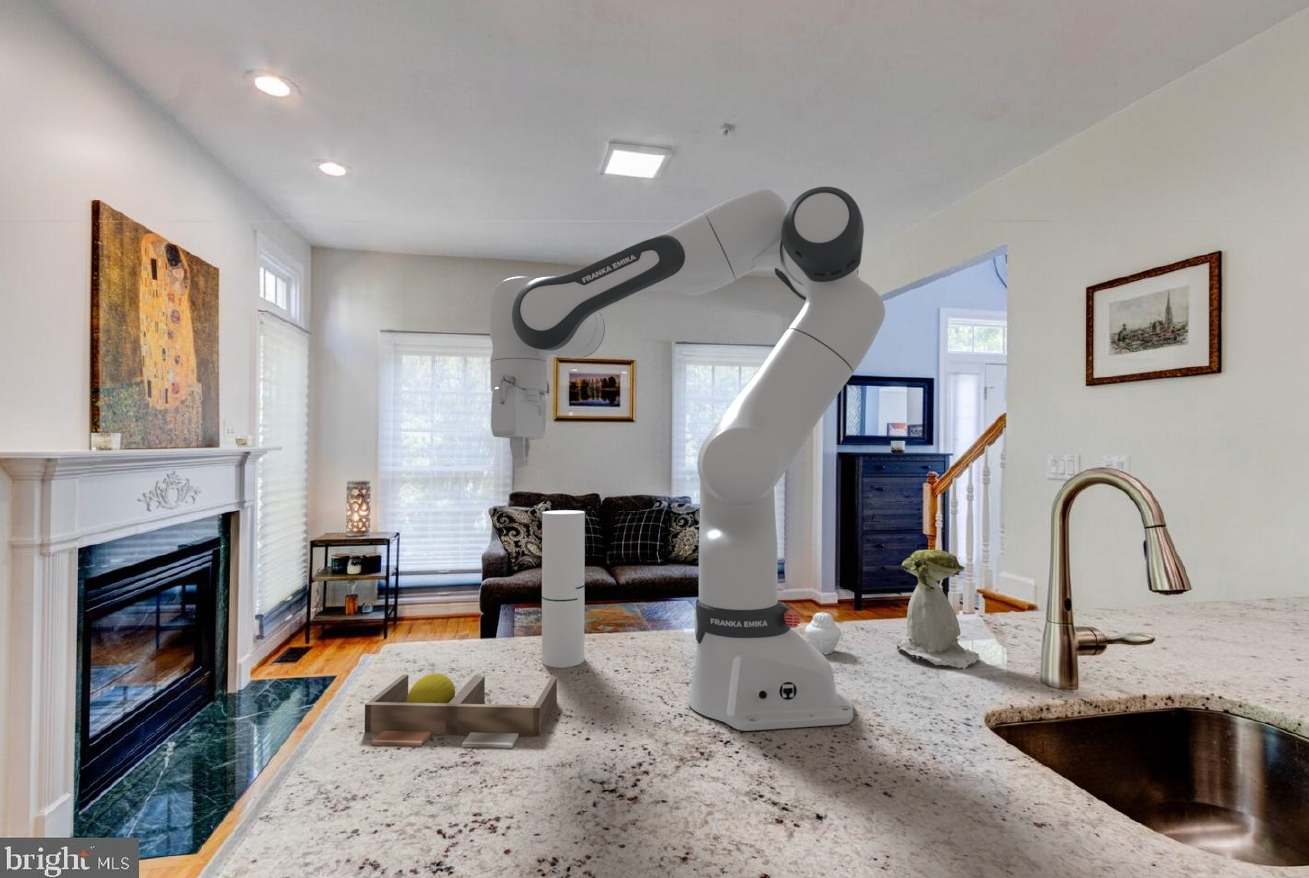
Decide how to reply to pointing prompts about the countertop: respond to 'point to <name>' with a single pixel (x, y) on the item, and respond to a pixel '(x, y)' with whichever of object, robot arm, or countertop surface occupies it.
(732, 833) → the countertop surface
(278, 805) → the countertop surface
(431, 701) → the lemon
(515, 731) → the bay rack
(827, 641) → the muffin
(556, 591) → the cylindrical container
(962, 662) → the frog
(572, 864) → the countertop surface
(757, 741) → the countertop surface
